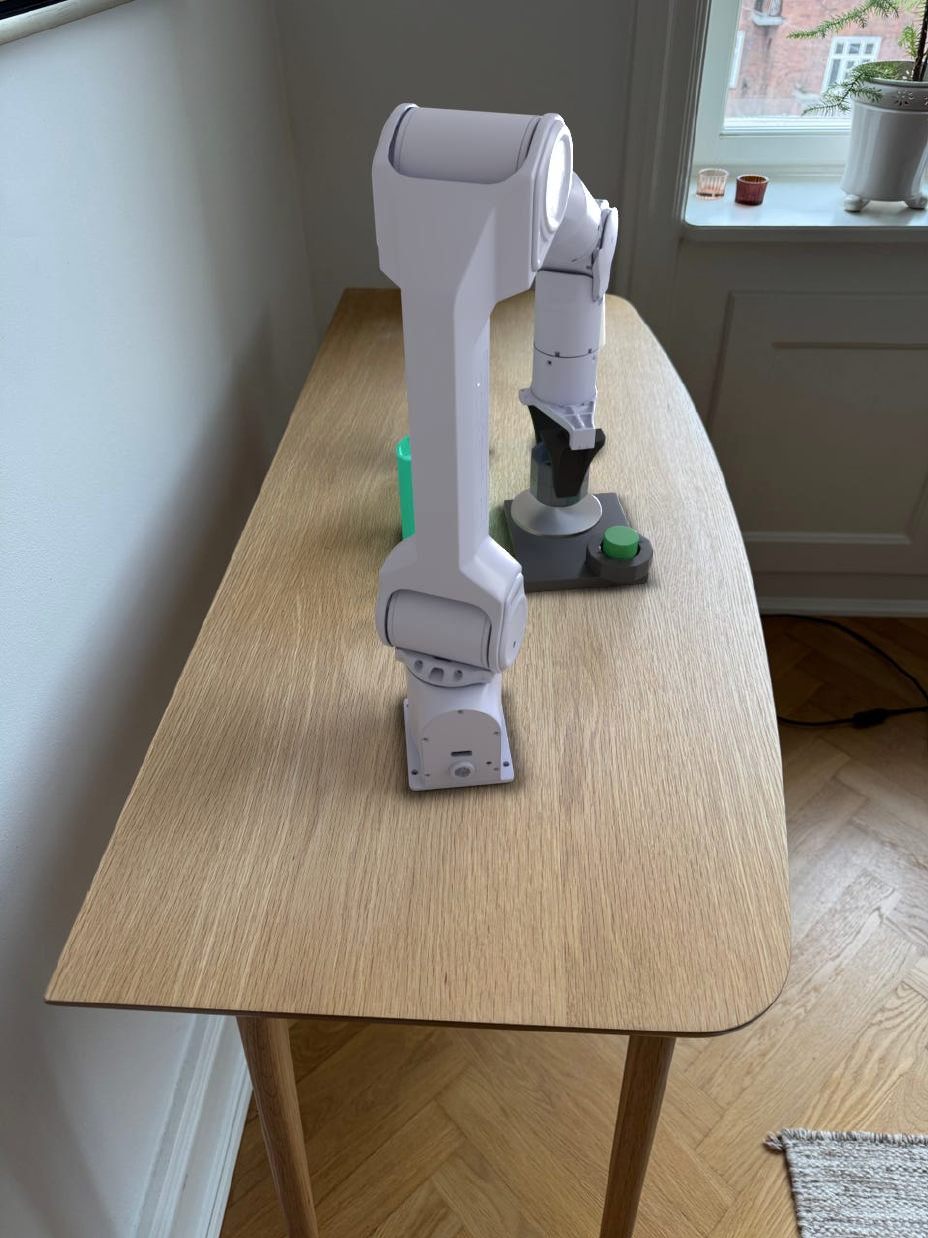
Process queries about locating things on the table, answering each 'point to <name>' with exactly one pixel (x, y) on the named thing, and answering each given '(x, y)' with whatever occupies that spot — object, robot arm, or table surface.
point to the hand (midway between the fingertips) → (558, 476)
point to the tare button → (620, 542)
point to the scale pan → (555, 516)
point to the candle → (405, 487)
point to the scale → (578, 554)
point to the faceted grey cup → (549, 480)
